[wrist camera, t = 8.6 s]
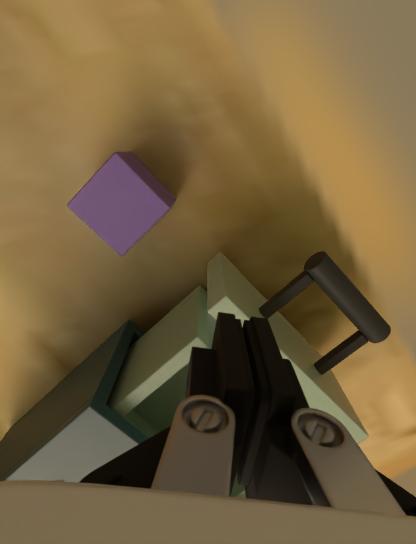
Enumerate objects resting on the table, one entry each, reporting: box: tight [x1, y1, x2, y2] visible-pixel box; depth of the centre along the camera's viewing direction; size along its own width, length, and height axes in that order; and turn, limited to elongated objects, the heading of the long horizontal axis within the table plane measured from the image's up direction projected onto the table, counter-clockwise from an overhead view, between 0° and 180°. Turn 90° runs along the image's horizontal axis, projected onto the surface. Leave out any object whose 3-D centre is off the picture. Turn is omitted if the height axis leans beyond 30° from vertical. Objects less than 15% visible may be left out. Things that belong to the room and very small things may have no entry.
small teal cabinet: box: [0, 320, 149, 483], centre depth 24 cm, size 15×13×9 cm
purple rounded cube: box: [67, 152, 176, 256], centre depth 21 cm, size 4×4×4 cm
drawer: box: [106, 251, 391, 498], centre depth 22 cm, size 18×11×7 cm, turn 133°
